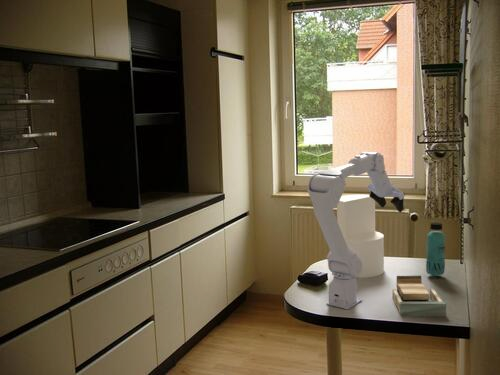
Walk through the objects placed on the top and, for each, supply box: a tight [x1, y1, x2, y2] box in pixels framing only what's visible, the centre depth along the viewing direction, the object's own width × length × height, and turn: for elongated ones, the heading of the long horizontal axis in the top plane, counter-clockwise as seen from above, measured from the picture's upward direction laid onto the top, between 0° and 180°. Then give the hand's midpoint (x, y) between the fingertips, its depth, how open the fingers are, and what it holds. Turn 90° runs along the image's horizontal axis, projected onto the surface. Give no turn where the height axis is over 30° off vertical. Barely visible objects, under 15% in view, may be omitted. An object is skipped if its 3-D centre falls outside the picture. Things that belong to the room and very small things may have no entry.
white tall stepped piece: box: [336, 194, 385, 279], centre depth 203 cm, size 17×17×28 cm
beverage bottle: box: [425, 221, 446, 276], centre depth 193 cm, size 6×7×20 cm
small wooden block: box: [396, 275, 430, 302], centre depth 176 cm, size 12×8×5 cm, turn 175°
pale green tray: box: [392, 288, 447, 317], centre depth 167 cm, size 16×13×4 cm
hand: (392, 207), depth 190 cm, fingers open, 7 cm apart
